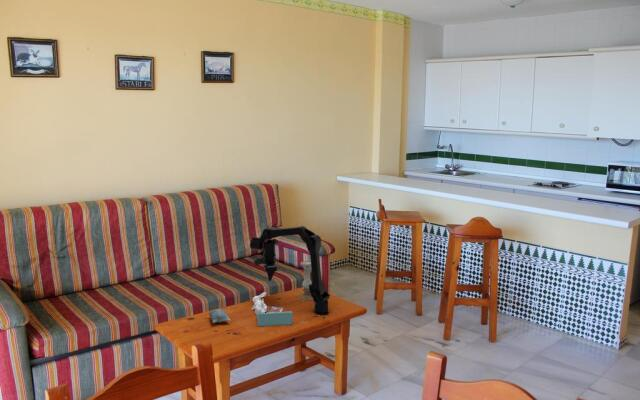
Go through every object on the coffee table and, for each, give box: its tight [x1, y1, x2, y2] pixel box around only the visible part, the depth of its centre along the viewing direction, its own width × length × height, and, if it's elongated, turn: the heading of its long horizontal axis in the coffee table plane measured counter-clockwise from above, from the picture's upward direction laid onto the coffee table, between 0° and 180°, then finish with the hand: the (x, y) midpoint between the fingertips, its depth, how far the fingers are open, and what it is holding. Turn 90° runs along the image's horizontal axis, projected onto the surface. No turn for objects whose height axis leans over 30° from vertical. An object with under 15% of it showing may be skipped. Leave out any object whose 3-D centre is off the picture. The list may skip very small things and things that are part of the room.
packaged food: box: [208, 308, 231, 324], centre depth 268 cm, size 9×12×5 cm
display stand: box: [256, 310, 293, 327], centre depth 268 cm, size 16×10×6 cm, turn 100°
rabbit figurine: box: [251, 291, 268, 314], centre depth 282 cm, size 12×8×10 cm, turn 29°
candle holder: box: [299, 260, 314, 301], centre depth 302 cm, size 9×9×20 cm
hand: (269, 280), depth 292 cm, fingers closed
